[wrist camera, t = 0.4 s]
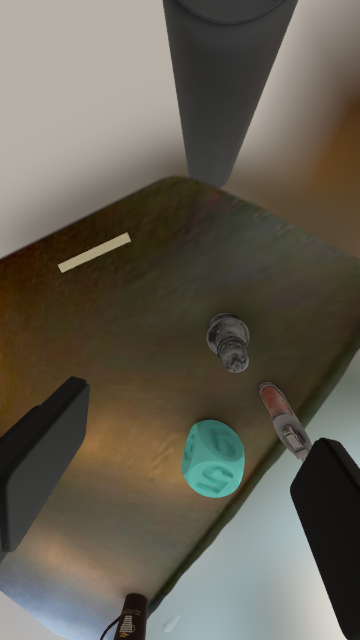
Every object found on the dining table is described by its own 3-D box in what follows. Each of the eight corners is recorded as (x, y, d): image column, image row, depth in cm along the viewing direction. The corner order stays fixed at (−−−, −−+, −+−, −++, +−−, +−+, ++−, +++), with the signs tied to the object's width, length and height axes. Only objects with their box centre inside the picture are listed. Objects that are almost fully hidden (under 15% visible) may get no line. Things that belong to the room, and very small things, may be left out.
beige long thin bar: (127, 232, 30) (127, 232, 30) (130, 240, 30) (130, 240, 30) (58, 264, 32) (57, 265, 32) (62, 272, 32) (61, 272, 32)
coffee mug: (154, 596, 58) (145, 663, 49) (149, 611, 61) (139, 677, 51) (113, 585, 58) (96, 650, 49) (110, 600, 61) (93, 665, 52)
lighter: (295, 413, 36) (329, 469, 27) (277, 421, 37) (303, 479, 28) (272, 378, 35) (299, 425, 25) (254, 387, 36) (273, 437, 26)
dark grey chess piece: (250, 338, 33) (276, 383, 22) (214, 351, 34) (222, 401, 23) (236, 304, 32) (256, 334, 20) (200, 319, 33) (199, 355, 21)
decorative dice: (183, 444, 41) (179, 488, 33) (198, 412, 38) (197, 452, 31) (222, 457, 41) (227, 504, 33) (239, 427, 38) (249, 471, 31)
